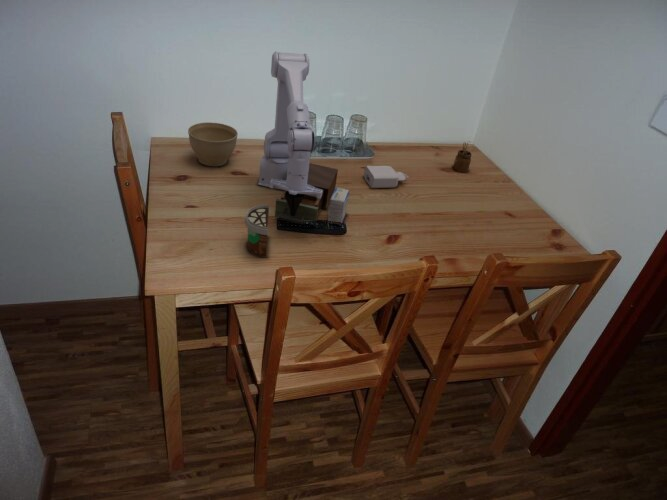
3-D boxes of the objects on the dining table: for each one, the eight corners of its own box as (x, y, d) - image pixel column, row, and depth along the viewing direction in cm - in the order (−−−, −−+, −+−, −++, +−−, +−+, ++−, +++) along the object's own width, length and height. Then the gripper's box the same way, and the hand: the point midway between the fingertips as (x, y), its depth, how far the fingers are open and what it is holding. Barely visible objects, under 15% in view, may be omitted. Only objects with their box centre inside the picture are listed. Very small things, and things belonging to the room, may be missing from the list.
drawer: (310, 236, 144) (312, 218, 141) (268, 226, 145) (269, 209, 142) (325, 204, 160) (327, 188, 156) (287, 196, 161) (288, 180, 157)
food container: (245, 232, 143) (246, 202, 137) (267, 234, 143) (269, 203, 138) (242, 259, 133) (243, 226, 127) (266, 260, 133) (268, 228, 128)
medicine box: (341, 227, 152) (345, 201, 147) (326, 223, 152) (330, 198, 147) (345, 214, 158) (349, 189, 153) (331, 211, 159) (335, 186, 154)
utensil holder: (469, 169, 198) (478, 140, 192) (464, 174, 194) (473, 145, 187) (455, 164, 201) (464, 135, 194) (450, 169, 196) (458, 140, 189)
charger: (411, 188, 179) (371, 189, 174) (401, 176, 186) (363, 176, 181) (414, 176, 176) (374, 176, 171) (404, 164, 183) (365, 164, 178)
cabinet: (325, 210, 159) (328, 188, 154) (283, 201, 160) (285, 179, 156) (335, 189, 170) (338, 169, 166) (296, 181, 172) (297, 160, 167)
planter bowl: (232, 174, 170) (233, 143, 164) (183, 168, 169) (182, 137, 163) (240, 154, 183) (241, 125, 177) (195, 148, 182) (194, 119, 176)
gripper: (267, 171, 134) (264, 215, 142) (320, 183, 133) (314, 226, 141) (275, 161, 140) (272, 203, 148) (326, 172, 139) (320, 214, 146)
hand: (293, 214), depth 145 cm, fingers closed
